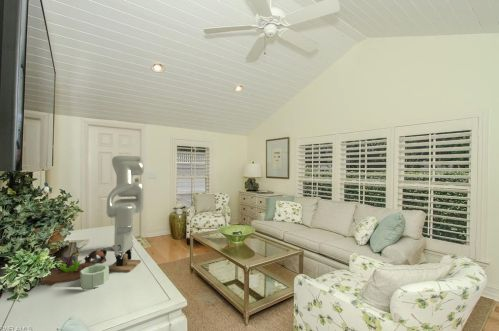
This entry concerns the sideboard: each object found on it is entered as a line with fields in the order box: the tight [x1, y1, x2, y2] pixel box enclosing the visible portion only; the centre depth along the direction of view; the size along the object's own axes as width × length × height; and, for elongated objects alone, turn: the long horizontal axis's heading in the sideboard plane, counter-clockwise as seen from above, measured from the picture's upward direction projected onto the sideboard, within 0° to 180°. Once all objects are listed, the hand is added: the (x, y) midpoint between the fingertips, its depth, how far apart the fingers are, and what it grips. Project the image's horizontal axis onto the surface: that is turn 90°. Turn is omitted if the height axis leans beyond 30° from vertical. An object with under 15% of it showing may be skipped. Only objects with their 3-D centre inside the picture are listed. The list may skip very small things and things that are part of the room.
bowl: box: [79, 264, 110, 290], centre depth 110 cm, size 10×10×6 cm
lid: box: [108, 253, 141, 273], centre depth 126 cm, size 12×12×6 cm
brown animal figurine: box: [83, 248, 107, 264], centre depth 133 cm, size 12×10×8 cm
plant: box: [41, 252, 95, 286], centre depth 118 cm, size 20×20×11 cm
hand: (123, 262), depth 126 cm, fingers open, 7 cm apart
